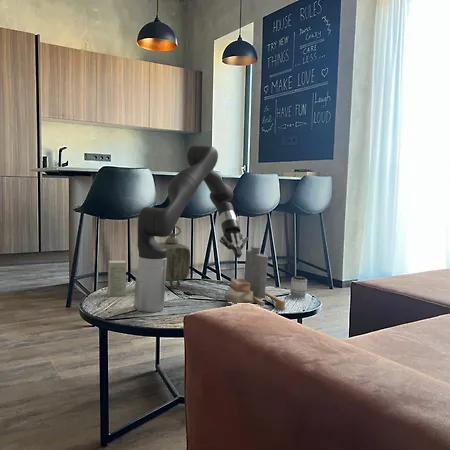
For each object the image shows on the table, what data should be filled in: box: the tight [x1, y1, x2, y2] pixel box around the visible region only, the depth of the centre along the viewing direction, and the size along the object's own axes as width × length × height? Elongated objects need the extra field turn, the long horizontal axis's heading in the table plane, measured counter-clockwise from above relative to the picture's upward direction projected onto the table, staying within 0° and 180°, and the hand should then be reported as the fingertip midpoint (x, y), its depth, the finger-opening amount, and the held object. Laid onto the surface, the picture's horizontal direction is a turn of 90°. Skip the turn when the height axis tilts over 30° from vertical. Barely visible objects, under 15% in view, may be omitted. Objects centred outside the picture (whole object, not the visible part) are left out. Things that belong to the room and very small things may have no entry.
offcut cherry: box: [230, 278, 250, 292], centre depth 161 cm, size 5×7×3 cm
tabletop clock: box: [157, 225, 191, 290], centre depth 177 cm, size 14×9×25 cm, turn 122°
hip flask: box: [243, 246, 269, 299], centre depth 172 cm, size 16×4×20 cm, turn 20°
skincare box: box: [107, 260, 127, 297], centre depth 162 cm, size 6×4×12 cm
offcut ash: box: [226, 286, 253, 301], centre depth 161 cm, size 6×8×3 cm
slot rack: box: [229, 283, 286, 311], centre depth 170 cm, size 10×28×3 cm, turn 22°
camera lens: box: [290, 275, 308, 299], centre depth 181 cm, size 6×6×8 cm
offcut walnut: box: [225, 294, 254, 304], centre depth 162 cm, size 7×9×3 cm
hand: (238, 256), depth 184 cm, fingers closed
